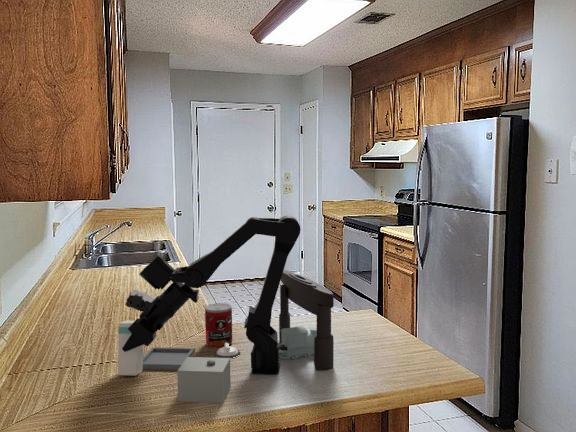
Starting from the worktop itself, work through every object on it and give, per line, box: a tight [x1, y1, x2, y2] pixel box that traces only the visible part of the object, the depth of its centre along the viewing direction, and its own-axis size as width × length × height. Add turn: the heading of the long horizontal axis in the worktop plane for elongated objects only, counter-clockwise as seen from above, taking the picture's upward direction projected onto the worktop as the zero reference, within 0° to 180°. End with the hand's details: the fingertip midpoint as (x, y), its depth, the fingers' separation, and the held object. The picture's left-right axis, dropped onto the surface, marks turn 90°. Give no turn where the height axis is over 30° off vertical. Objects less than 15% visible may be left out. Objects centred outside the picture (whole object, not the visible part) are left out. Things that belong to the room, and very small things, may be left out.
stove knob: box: [213, 343, 241, 359], centre depth 141 cm, size 7×7×3 cm
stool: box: [278, 269, 335, 371], centre depth 140 cm, size 16×21×33 cm
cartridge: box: [117, 319, 144, 376], centre depth 128 cm, size 5×5×12 cm
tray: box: [143, 346, 196, 371], centre depth 136 cm, size 12×12×2 cm
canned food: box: [204, 302, 233, 348], centre depth 148 cm, size 8×8×11 cm
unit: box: [176, 356, 232, 404], centre depth 116 cm, size 10×8×8 cm
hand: (126, 346), depth 128 cm, fingers closed on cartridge, 5 cm apart
